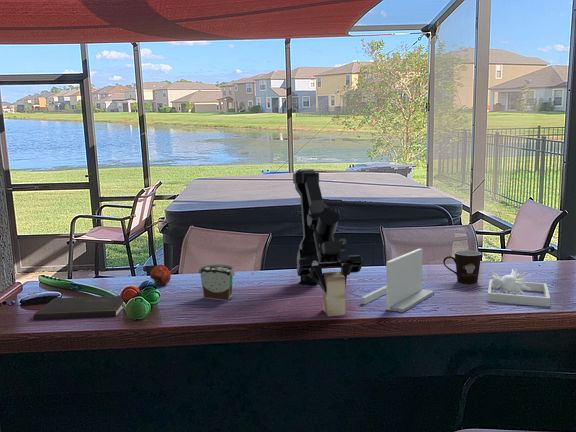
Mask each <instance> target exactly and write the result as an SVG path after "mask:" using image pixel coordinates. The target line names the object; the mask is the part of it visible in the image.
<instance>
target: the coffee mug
mask: <svg viewBox="0 0 576 432" xmlns="http://www.w3.org/2000/svg"><path fill="white" fill-rule="evenodd" d="M448 259H452V260H453V262H454V263H455V269H456V271H455V270H453V269H452V268H450V267H449V266H448V265H447V264H446V260H448ZM481 260H482V252H480V251H477V250H476V251H475V250H468V249H467V250H465V249H463V250H457V251H456V250H455V251H454V257H453V256H451V255H449V256H446V257H444V258H443V262H442V264H443V265H444V267H445V268H446V269H447V270H449V271H451V272H452V273H453V274H455V275H456V279H457V280H456V281H457V283H459V284H462V285H476V284H478V281H479V274H480V267H481Z"/></svg>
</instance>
